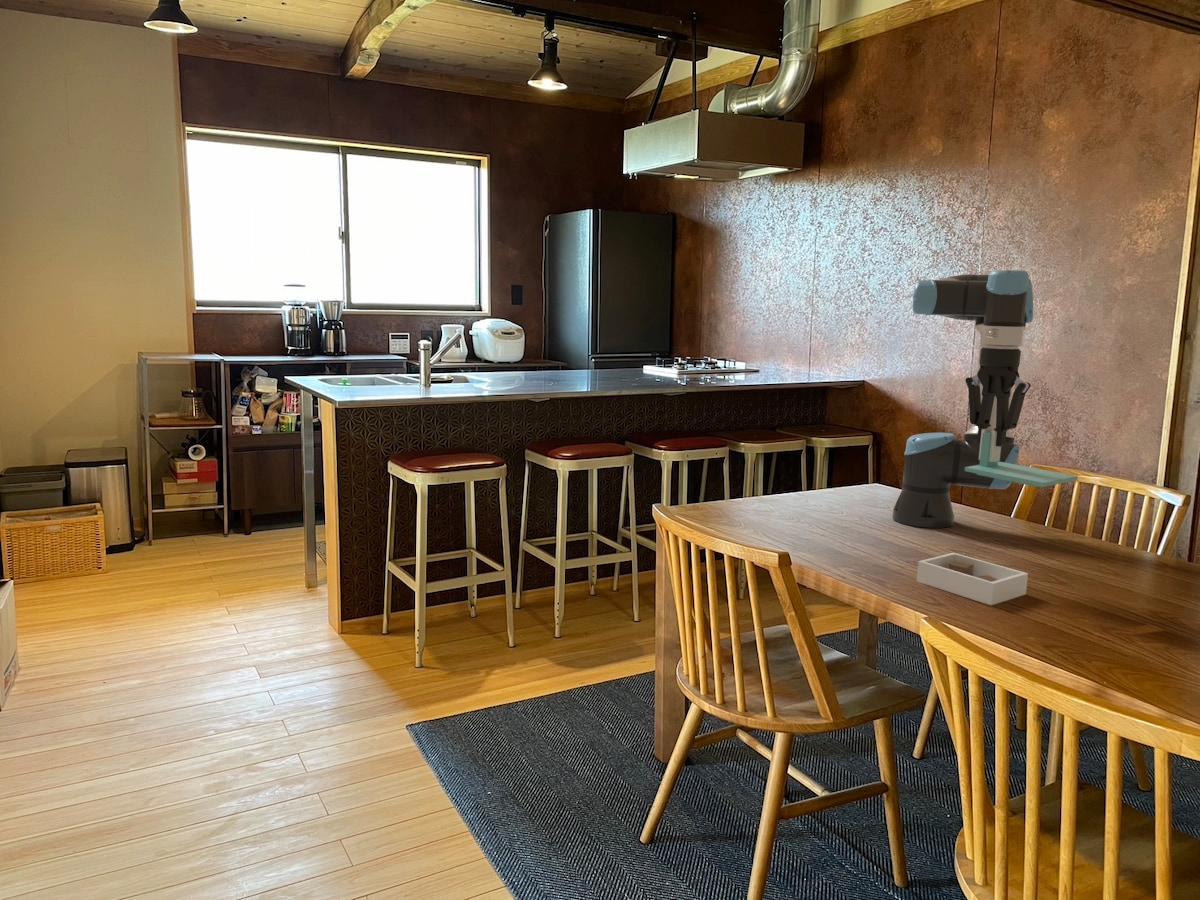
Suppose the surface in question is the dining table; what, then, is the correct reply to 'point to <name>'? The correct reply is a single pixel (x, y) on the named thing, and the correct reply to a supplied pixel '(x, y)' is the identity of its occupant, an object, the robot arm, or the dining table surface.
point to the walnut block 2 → (987, 578)
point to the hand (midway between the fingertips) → (989, 460)
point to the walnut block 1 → (962, 567)
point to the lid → (1015, 470)
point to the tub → (973, 579)
